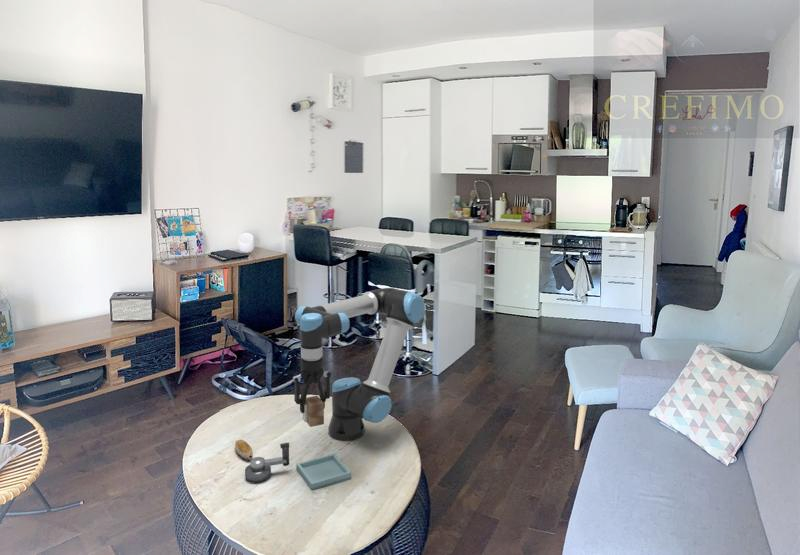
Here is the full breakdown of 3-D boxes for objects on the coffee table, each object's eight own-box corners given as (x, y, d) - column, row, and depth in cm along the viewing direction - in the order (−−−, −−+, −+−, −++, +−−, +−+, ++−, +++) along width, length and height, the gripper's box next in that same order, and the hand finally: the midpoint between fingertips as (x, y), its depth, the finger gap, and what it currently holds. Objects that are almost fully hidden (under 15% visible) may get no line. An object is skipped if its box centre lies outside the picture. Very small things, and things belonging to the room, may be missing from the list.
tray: (333, 459, 214) (333, 453, 214) (351, 478, 202) (350, 472, 201) (296, 469, 207) (296, 463, 206) (311, 490, 194) (311, 484, 194)
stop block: (317, 416, 204) (317, 395, 203) (323, 424, 198) (323, 403, 197) (304, 418, 202) (303, 398, 201) (310, 427, 196) (310, 405, 194)
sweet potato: (243, 464, 210) (242, 453, 209) (232, 448, 222) (231, 438, 221) (256, 460, 213) (256, 450, 212) (245, 444, 224) (244, 434, 223)
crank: (251, 473, 198) (250, 452, 197) (250, 466, 203) (249, 446, 201) (290, 467, 203) (290, 446, 201) (288, 460, 208) (287, 440, 206)
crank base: (241, 471, 205) (240, 464, 204) (265, 465, 209) (265, 458, 209) (249, 486, 196) (248, 478, 195) (274, 479, 201) (274, 471, 200)
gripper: (332, 350, 204) (332, 410, 209) (283, 357, 196) (285, 419, 201) (339, 357, 198) (340, 418, 202) (289, 364, 189) (291, 428, 194)
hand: (312, 418), depth 202 cm, fingers closed on stop block, 5 cm apart
